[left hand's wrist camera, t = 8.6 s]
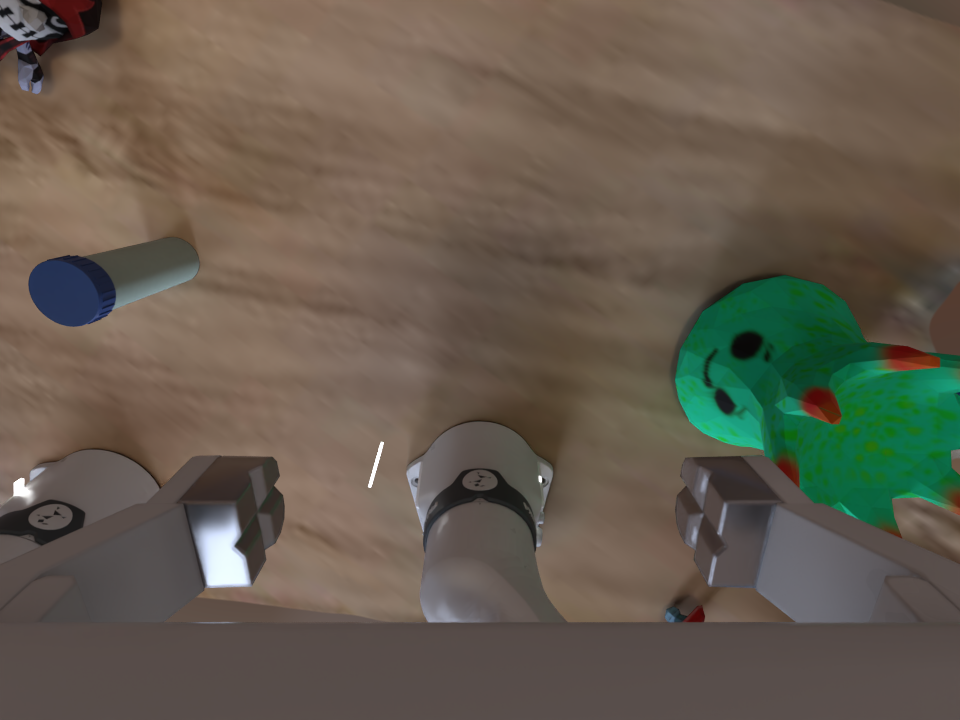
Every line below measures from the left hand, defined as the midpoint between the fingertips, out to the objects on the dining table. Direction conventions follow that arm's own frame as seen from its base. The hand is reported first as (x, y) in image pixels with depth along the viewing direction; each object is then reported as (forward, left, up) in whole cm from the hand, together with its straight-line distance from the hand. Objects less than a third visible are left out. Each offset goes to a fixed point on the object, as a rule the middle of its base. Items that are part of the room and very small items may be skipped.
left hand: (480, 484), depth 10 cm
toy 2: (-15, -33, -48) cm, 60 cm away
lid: (-4, +34, -32) cm, 46 cm away
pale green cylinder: (-4, +34, -48) cm, 59 cm away
